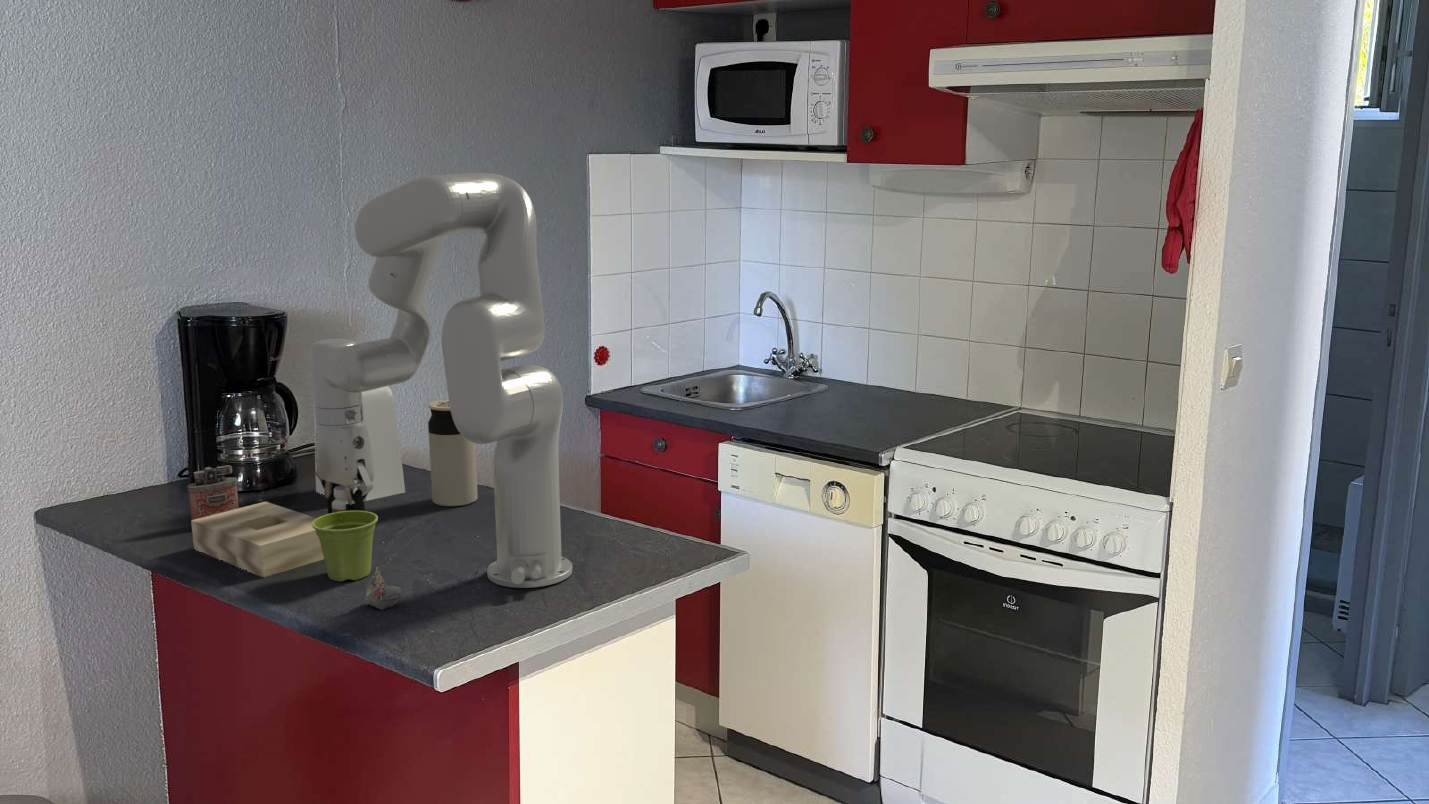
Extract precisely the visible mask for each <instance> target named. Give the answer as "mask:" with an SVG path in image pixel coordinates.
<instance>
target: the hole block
mask: <svg viewBox="0 0 1429 804" xmlns="http://www.w3.org/2000/svg"><path fill="white" fill-rule="evenodd" d="M316 518H317V517H315V516H311V515H308V514H306V513H302V512H299V511H295V510H293V509H290V508H286V507H285V506H284V507H283V506H280V505H277V504H275V503H271V502H269V501H262V502H259V503H254V504H251V505H246V506H243V507H239V508H238V509H234V510H230V511H226V512H222V513H218V514H215V515H211V516H207V517H203V518H199V519H195V520H192V519H191V520H190V522H191V523H192V527H191V532H192V542H193V550H194V549H195V550H197V551H199V552H204V553H206V554H208V555H210V556H212V557H215V558H217V559H219V560H218V561H220V560H223V561H225V562H228V563H230V564H232V565H235V566H236V567H235V566H234V567H235V568H238V567H239V568H238V569H240V568H241V569H240V570H243V569H244V570H243V571H245V570H247V571H246V572H247V573H250V572H251V574H253V575H256V576H258V577H260V578H263V577H264V578H267V577H270V576H274V575H276V574H280V573H283V572H288V571H291V570H293V569H296V568H297V569H298V568H300V567H304V566H306V565H309V564H313V563H317V562H320V561H324V556H323V552H322V548H321V544H320V540H319V537H318V536H317V534H316V530H315V529H314V528H313V527H312V522H313V521H314V520H315V519H316ZM197 551H196V552H197ZM199 552H198V553H199ZM210 556H209V557H210ZM212 557H211V558H212ZM215 558H214V559H215ZM217 559H216V560H217ZM225 562H224V563H225ZM230 564H229V565H230ZM232 565H231V566H232Z"/></svg>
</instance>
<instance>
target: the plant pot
mask: <svg viewBox="0 0 1429 804" xmlns="http://www.w3.org/2000/svg"><path fill="white" fill-rule="evenodd" d="M315 518H316V519H315V520H314V521H313V522H312V527H313V528H314V529H315V530H316V534H317V536H318V537H319V540H320V544H321V548H322V552H323V556H324V559H323V561H324V564H325V568H326V572H327V576H328V578H329V579H330V580H331V581H336V582H344V581H346V580H352V581H357V580H361V579H363V578H365V577H367V576H369V575H370V573H371V570H372V552H373V540H374V539H373V538H374V531H375V528H376V523H377V522H378V521H379V520H378V519H379V517H378V515H377V514H376V513H374V512H371V511H367V510H365V511H342V512H336V513H330V514H328V513H327V514H324V515H320V516H318V517H315Z"/></svg>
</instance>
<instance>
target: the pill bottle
mask: <svg viewBox="0 0 1429 804" xmlns="http://www.w3.org/2000/svg"><path fill="white" fill-rule="evenodd" d="M352 490H353V494H354V493H355V491H356V489H355V488H352ZM334 497H335V498H336V499H335V500H334V501H333V502H332V513H336V512H342V511H346V504H348V500H347V495H346V490H345V486H343V485H340V486H337V487H335V488H334Z"/></svg>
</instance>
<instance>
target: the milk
mask: <svg viewBox="0 0 1429 804" xmlns="http://www.w3.org/2000/svg"><path fill="white" fill-rule="evenodd" d="M362 403H363V419H364V424H366V428H367V431H368V435H369V440H370V445H371V452H372V459H373V469H374V479H373V481H371V482H372V484H373V489H372V490H371V491H370V492H369V493H368V494H367V496H366V501H367V502H368V501H371V500H375V499H381V498H385V497H390V496H395V495H399V494H404V493H406V487H405V479H404V477H405V476H404V470H403V462H402V454H401V447H400V438H399V437H400V436H399V429H398V423H397V414H396V405H395V398H394V394H393V392H392V389H391V388H390V386H385V387H381V388H378V389H374V390H369V391H365V392H362ZM314 406H315V405H314V404H313V419H314V421H313V423H314V425H313V426H314V427H313V428H314V434H315V433H316V421H315V407H314ZM314 457H315V456H314ZM314 459H315V462H314V464H315V472H316V471H317V468H316V457H315V458H314ZM354 483H357V481H356V480H354ZM355 489H356V490H357V487H355ZM324 491H325V489H324V488H323V486H322V484H321V481H320V480H319V479H318V477H317V476H316V475H315V492H316V493H317V492H318V493H317V494H319V493H320V494H319V495H321V494H323V495H325V494H324ZM323 495H322V496H323ZM366 501H365V502H366Z"/></svg>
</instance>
